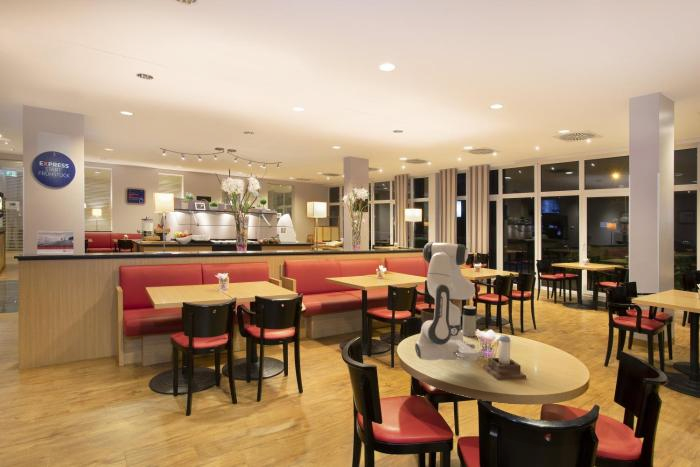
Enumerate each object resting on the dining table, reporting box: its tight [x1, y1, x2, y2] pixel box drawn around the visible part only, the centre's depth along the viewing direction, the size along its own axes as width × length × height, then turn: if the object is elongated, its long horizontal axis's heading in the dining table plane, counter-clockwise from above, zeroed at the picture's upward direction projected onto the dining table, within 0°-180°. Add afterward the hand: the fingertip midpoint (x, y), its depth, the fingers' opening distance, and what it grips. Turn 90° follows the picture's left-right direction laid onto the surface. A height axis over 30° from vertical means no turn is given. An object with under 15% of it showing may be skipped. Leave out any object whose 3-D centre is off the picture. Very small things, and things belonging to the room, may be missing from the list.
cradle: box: [482, 357, 527, 381], centre depth 184 cm, size 14×14×6 cm
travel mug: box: [461, 305, 477, 338], centre depth 247 cm, size 8×8×18 cm
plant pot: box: [420, 307, 435, 324], centre depth 244 cm, size 15×15×16 cm
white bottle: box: [498, 334, 511, 365], centre depth 184 cm, size 5×5×16 cm
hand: (478, 349), depth 182 cm, fingers open, 8 cm apart
